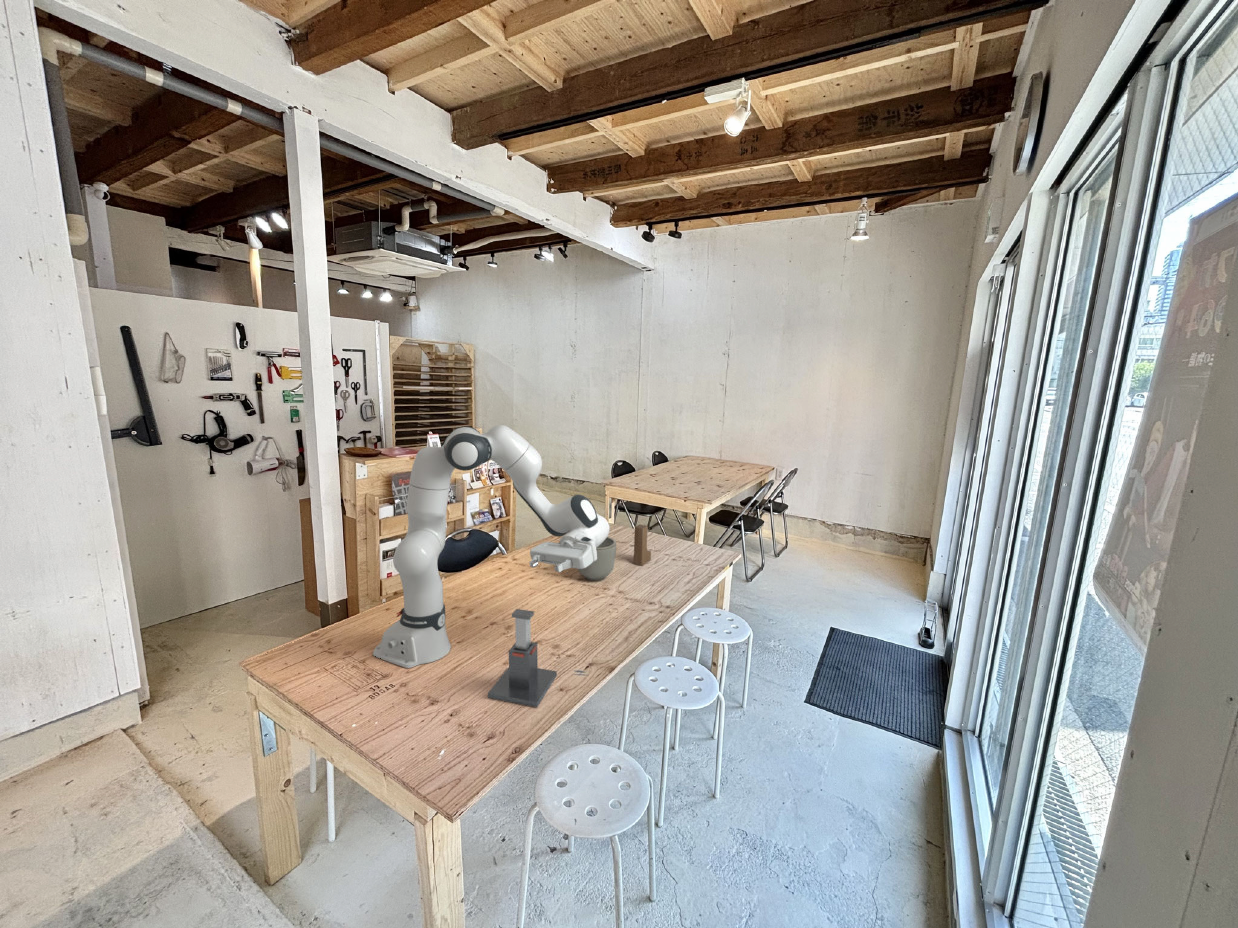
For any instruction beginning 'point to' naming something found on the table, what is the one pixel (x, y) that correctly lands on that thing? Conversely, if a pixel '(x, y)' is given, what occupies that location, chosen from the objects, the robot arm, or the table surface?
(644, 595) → the table surface
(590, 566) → the planter
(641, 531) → the wooden block
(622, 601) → the table surface
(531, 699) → the stand
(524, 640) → the column
